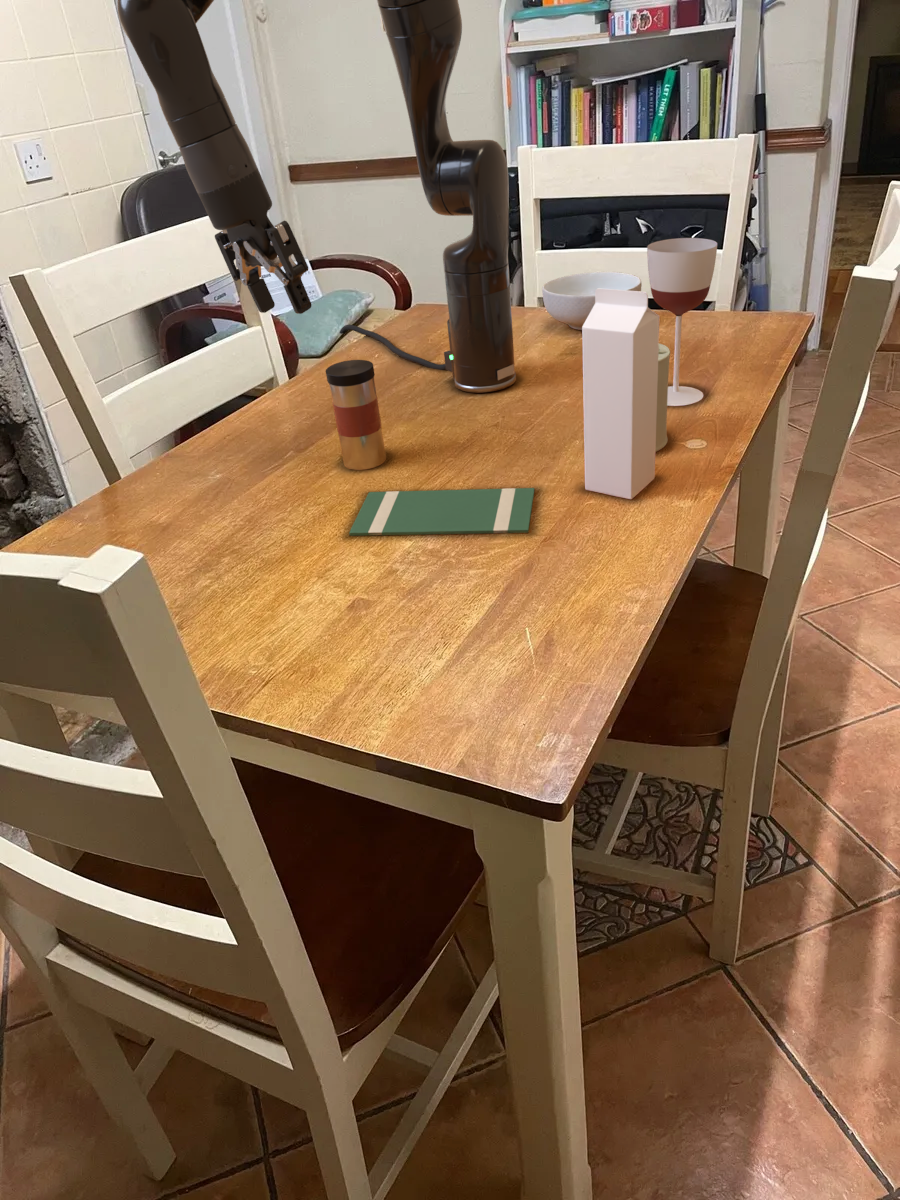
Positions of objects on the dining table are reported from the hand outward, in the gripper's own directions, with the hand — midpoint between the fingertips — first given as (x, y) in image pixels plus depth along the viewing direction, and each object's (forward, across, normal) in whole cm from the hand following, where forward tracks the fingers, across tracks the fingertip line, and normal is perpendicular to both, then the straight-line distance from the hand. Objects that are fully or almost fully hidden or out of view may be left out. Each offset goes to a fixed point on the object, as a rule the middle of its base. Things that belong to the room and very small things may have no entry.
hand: (285, 310), depth 110 cm
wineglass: (+30, -28, -36) cm, 54 cm away
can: (+27, -32, -20) cm, 47 cm away
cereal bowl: (+30, +3, -57) cm, 65 cm away
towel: (+21, -27, +7) cm, 35 cm away
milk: (+26, -39, -10) cm, 47 cm away
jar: (+19, -8, +3) cm, 21 cm away
